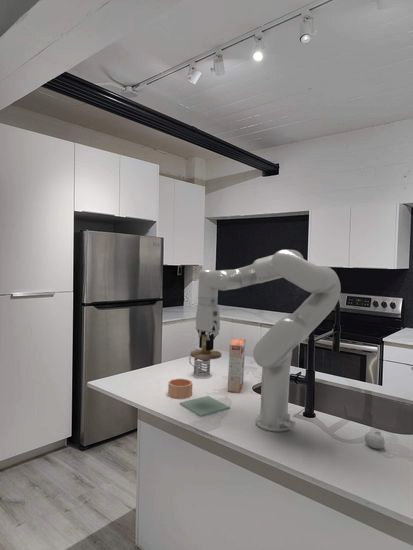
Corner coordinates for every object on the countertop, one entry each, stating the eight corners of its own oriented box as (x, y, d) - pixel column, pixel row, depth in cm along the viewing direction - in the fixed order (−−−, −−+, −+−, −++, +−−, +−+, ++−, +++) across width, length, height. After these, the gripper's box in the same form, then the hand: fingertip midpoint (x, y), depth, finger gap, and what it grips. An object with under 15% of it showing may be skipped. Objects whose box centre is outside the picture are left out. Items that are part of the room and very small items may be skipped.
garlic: (387, 447, 121) (388, 431, 121) (381, 453, 117) (382, 436, 117) (367, 440, 125) (368, 425, 125) (361, 446, 121) (362, 430, 121)
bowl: (196, 395, 161) (196, 383, 161) (176, 400, 155) (176, 388, 155) (183, 388, 169) (183, 377, 168) (163, 392, 163) (164, 381, 163)
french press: (215, 377, 185) (216, 326, 184) (192, 379, 181) (193, 327, 180) (207, 371, 194) (209, 322, 193) (185, 373, 190) (187, 323, 189)
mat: (229, 408, 148) (229, 406, 148) (200, 416, 140) (200, 415, 140) (208, 397, 159) (208, 395, 159) (179, 404, 151) (179, 402, 151)
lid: (227, 356, 147) (228, 336, 147) (202, 361, 140) (203, 340, 140) (208, 350, 157) (209, 331, 157) (184, 353, 150) (185, 334, 149)
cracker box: (241, 393, 165) (242, 345, 164) (227, 392, 166) (228, 344, 165) (244, 383, 179) (245, 338, 178) (231, 381, 180) (233, 337, 179)
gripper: (229, 303, 143) (227, 352, 144) (202, 298, 157) (201, 343, 157) (213, 304, 139) (211, 354, 140) (187, 299, 152) (186, 345, 153)
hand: (206, 348), depth 149 cm, fingers closed on lid, 3 cm apart
